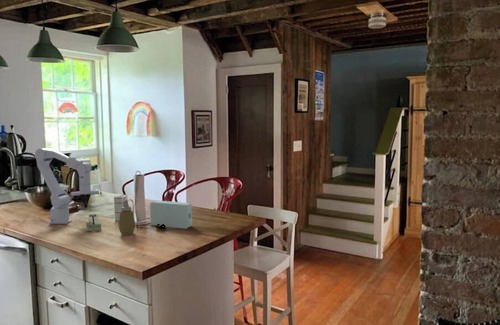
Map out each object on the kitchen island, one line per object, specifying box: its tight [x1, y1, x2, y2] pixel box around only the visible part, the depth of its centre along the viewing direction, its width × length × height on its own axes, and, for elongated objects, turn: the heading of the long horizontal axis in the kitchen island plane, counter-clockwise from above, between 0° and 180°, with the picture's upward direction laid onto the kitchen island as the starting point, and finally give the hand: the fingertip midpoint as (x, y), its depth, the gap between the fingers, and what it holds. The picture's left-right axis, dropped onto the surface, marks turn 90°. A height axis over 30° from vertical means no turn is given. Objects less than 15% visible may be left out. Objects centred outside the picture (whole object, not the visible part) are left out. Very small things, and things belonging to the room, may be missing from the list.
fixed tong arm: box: [88, 213, 102, 232], centre depth 223 cm, size 22×6×4 cm, turn 23°
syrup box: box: [113, 194, 129, 222], centre depth 236 cm, size 6×6×14 cm
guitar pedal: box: [149, 200, 193, 229], centre depth 223 cm, size 23×6×13 cm, turn 72°
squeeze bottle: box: [118, 200, 136, 237], centre depth 206 cm, size 8×8×18 cm
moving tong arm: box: [86, 216, 94, 232], centre depth 220 cm, size 18×3×4 cm, turn 23°
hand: (85, 207), depth 226 cm, fingers closed
